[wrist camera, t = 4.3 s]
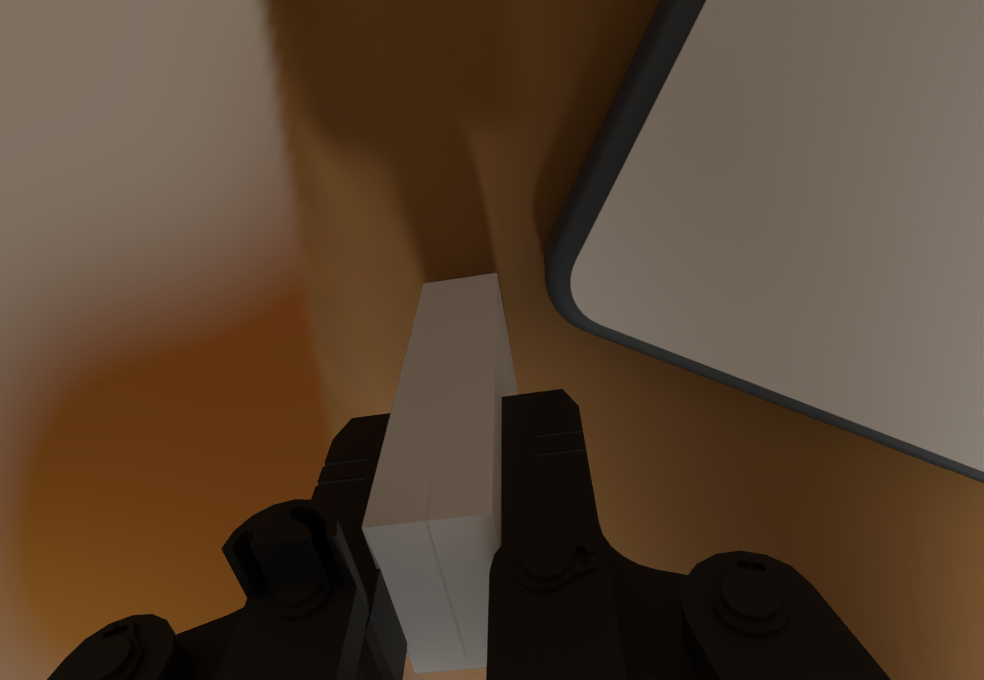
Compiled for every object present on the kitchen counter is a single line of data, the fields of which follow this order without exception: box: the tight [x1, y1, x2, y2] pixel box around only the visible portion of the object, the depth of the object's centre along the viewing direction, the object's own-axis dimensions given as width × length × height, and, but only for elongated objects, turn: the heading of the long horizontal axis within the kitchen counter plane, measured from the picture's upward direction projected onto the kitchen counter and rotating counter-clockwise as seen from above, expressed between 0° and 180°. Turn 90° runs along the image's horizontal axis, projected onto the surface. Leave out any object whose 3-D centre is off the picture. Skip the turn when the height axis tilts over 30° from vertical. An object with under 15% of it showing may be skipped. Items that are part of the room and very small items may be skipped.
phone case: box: [544, 0, 984, 483], centre depth 13 cm, size 9×2×16 cm
